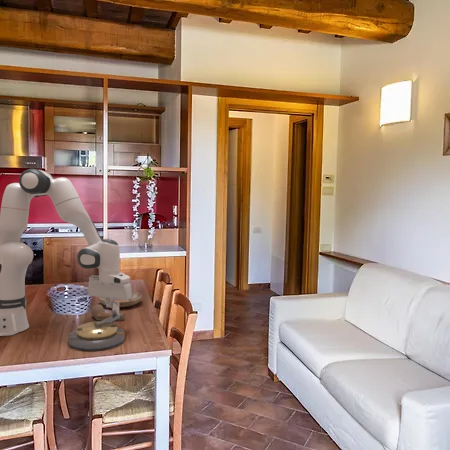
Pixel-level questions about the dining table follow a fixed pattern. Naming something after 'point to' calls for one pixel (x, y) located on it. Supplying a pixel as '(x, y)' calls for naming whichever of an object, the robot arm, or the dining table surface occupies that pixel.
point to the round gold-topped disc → (100, 327)
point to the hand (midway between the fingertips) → (109, 307)
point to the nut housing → (96, 342)
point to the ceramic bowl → (133, 300)
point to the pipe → (103, 313)
